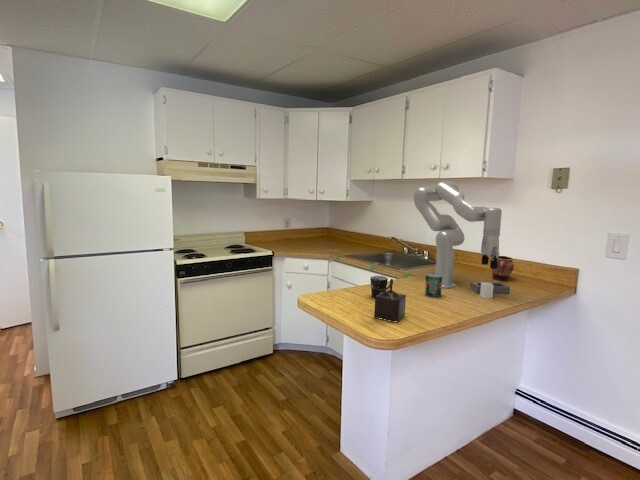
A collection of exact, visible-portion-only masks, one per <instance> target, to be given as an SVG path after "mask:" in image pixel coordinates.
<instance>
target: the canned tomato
mask: <svg viewBox="0 0 640 480" xmlns="http://www.w3.org/2000/svg"><path fill="white" fill-rule="evenodd" d="M425 275H426V276H425V290H424V292H425V293H424V295H425V297H426V298H430V299H440V298H441V297H442V275H441V274H437V273H436V272H430V273H429V272H427V273H426V274H425Z"/></svg>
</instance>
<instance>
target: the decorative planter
mask: <svg viewBox="0 0 640 480" xmlns="http://www.w3.org/2000/svg"><path fill="white" fill-rule="evenodd" d="M513 271H514V263H513V258H512V257H511V256H506V255H499V258H498V263H497V269H491V272H492V273H491V274H492V279H493V280H496V281H509V280H510V277H511V275H512V272H513Z"/></svg>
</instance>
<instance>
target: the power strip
mask: <svg viewBox="0 0 640 480" xmlns="http://www.w3.org/2000/svg"><path fill="white" fill-rule="evenodd" d="M490 283H491V284H493V285H494V286H493V294H499V293H500V294H501V293H502V294H504V295H507V294H509V295H510V294H511V293H510V292H511V287H510V286H509V285H506V284H505V283H503V282H490ZM469 285H470V287H469V288H470V290H471V291H473V292H474V293H476V294H480V289H481V281H479V282H475V281H473V282H472V281H470V283H469Z"/></svg>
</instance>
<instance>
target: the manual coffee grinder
mask: <svg viewBox="0 0 640 480" xmlns="http://www.w3.org/2000/svg"><path fill="white" fill-rule="evenodd" d="M389 281H390V282H389V285H387V287H386V288H385V289H379V287H378V285H379V284H380V280H379V279H377V278H373V279H371V280H370V286H371V285H372V286H373V287H372V289H373V290H378V291H383V292H380V293H379V294H378V295H377V296H375V299H374V316H373V318H374V317H378V318H382V319H386V320H391V321H399V320H400V319H401V318H402V317H403V316H404V315H406V298H407V295H406V294H402V293H398V292H396V291H394V290H393V285H394V279H393V278H391V279H390V280H389ZM404 317H405V316H404ZM404 317H403V318H404ZM403 318H402V319H403ZM402 319H401V320H402ZM401 320H400V321H401ZM400 321H399V322H400Z"/></svg>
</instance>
